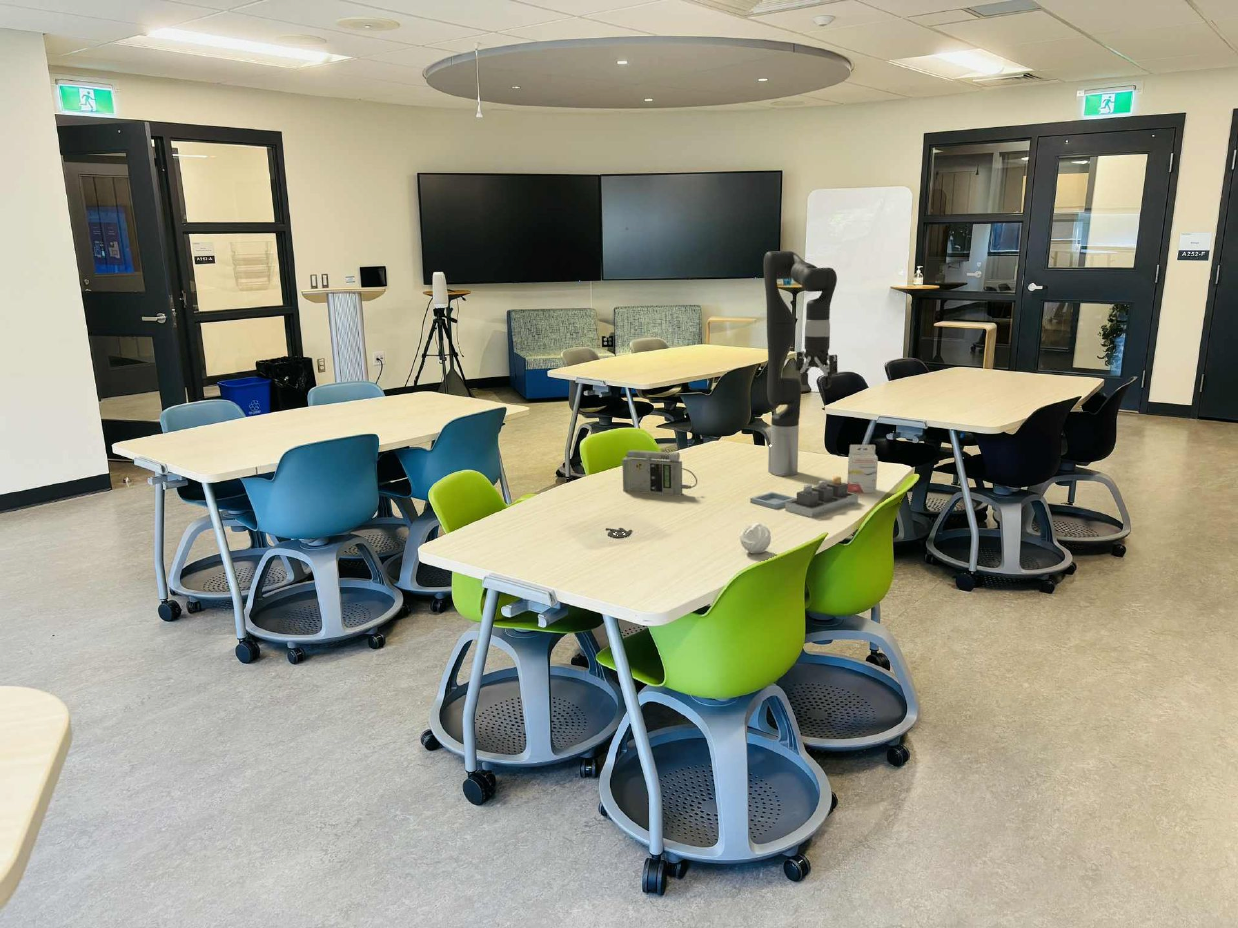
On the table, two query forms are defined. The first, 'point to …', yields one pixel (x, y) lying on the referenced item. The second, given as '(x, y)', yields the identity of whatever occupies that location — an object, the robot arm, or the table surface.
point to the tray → (771, 500)
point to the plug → (838, 487)
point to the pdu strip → (821, 506)
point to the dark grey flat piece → (618, 533)
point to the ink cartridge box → (862, 469)
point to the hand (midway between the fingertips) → (815, 386)
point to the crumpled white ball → (755, 538)
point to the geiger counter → (653, 473)
